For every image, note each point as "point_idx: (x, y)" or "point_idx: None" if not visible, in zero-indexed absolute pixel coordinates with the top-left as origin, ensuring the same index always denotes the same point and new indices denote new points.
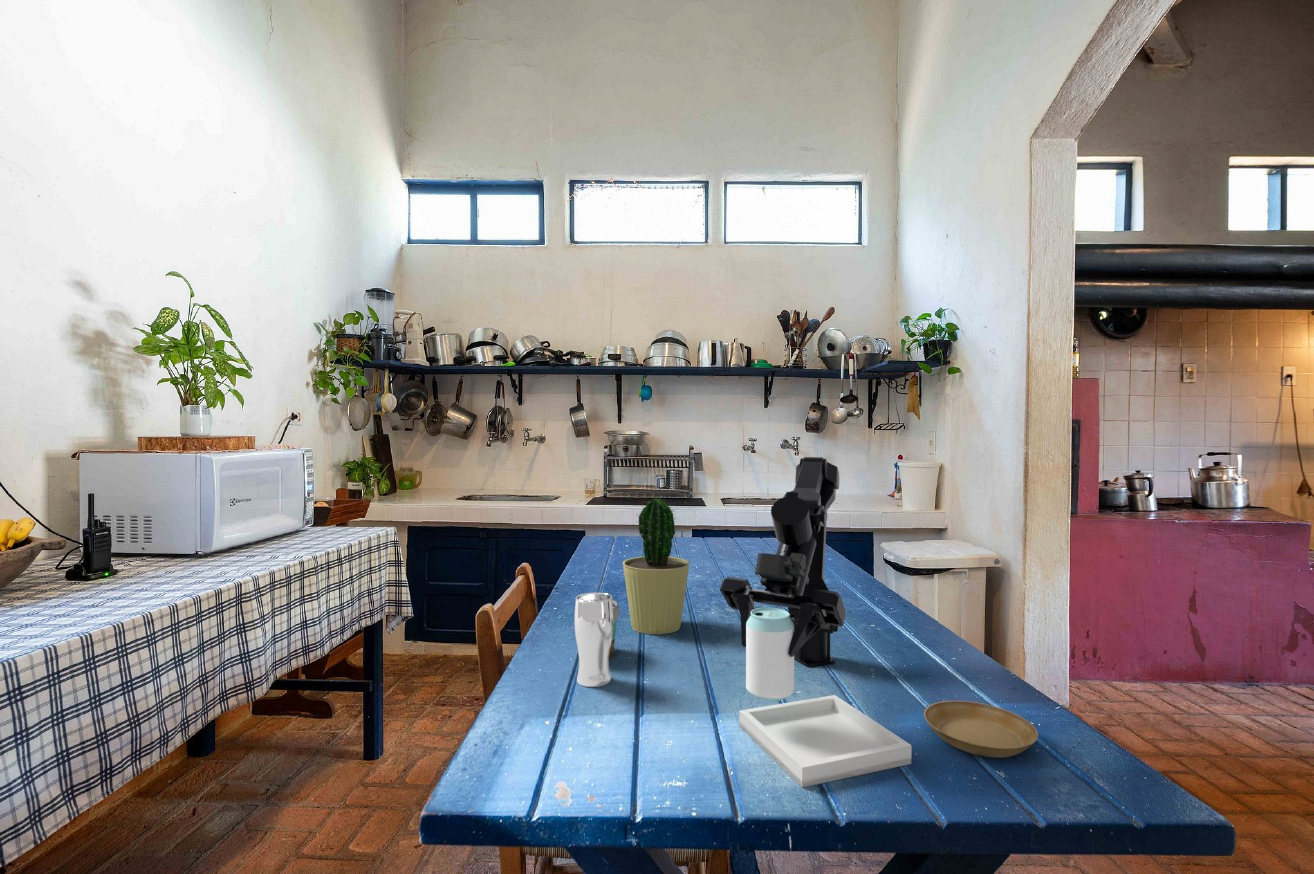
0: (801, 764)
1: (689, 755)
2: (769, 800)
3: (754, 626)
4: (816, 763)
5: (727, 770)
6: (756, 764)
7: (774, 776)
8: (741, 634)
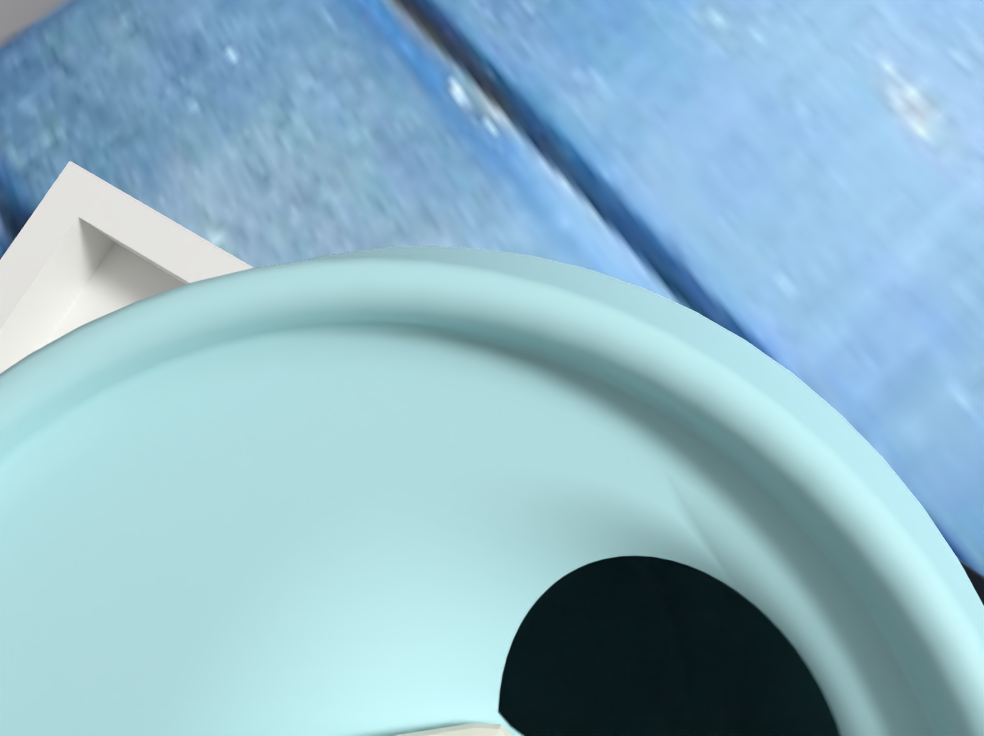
0: (85, 186)
1: (732, 80)
2: (204, 24)
3: (529, 267)
4: (20, 246)
5: (487, 95)
6: (398, 237)
7: (271, 201)
8: (976, 574)
